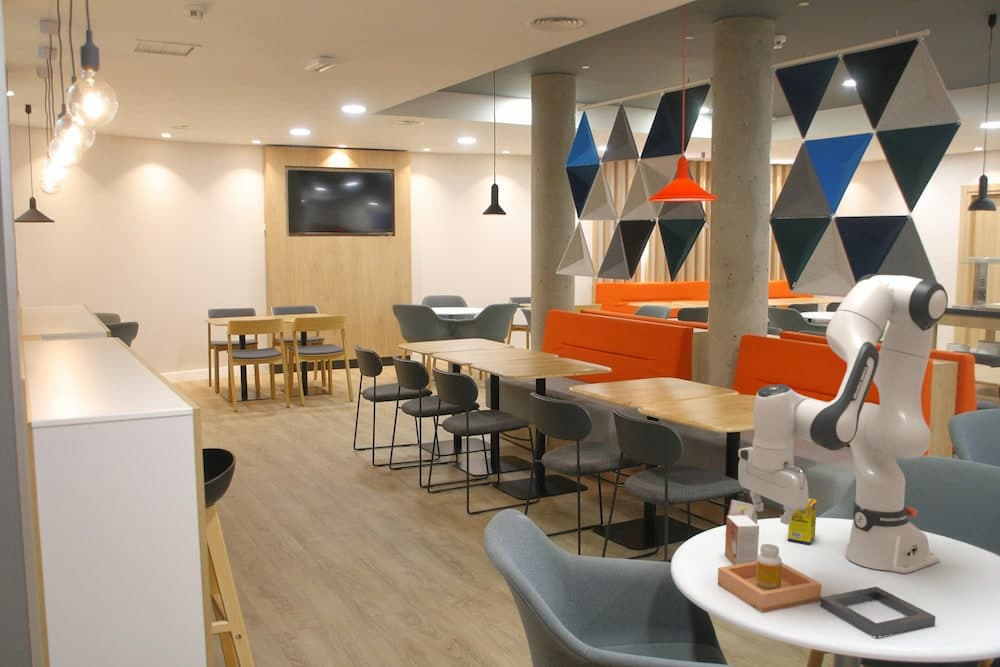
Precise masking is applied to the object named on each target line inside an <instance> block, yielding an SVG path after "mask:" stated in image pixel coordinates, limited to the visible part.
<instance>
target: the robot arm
mask: <svg viewBox="0 0 1000 667" xmlns="http://www.w3.org/2000/svg"><path fill="white" fill-rule="evenodd" d="M947 293H948V292H947V290H946V289H945V287H944V286H943V285H942V284H941V283H939V282H937V281H934V280H931V279H928V278H927V279H922V278H919V277H914V276H909V275H903V274H901V275H895V274H893V275H892V274H881V273H873V274H872V273H871V274H870V273H869V274H866V275H863V276H861V277H860V278H859V279H858V280H857V281H856V282H855V283H854V285H853V288H851V290H850V291H849V292H848V293H847V294H846V296H845V297H844V298H843V299H842V301H841V303H840V304H839V305H838V307H837V309H836V310H835V311H834V314H833V315H832V317H831V319H830V320H829V323H828V325H827V328H826V332H825V338H826V342H827V344H828V346H829V348H830V349H831V350H832V351H833V353H835V355H837V356H838V357H839V358H840V359H842V360H843V361H844V362H846V371H845V374H844V377H843V379H842V381H841V384H840V387H839V390H838V392H837V395H836V396H835V398H834V399H832V400H831V401H823V400H819V399H816V398H813V397H809V396H805V395H803V394H800V393H797V392H796V391H794V390H793V389H792V388H791V387H790V386H788V385H786V384H769V385H765V386H763V387H761V388H760V389H759V390H757V392H756V395H755V398H754V402H753V411H752V412H753V413H752V428H753V430H754V431H753V432H754V436H753V440H752V446H750V447H743V448H739V449H738V451H737V452H738V454H737V455H738V457H739V461H738V466H737V467H738V468H737V469H738V474H737V475H738V477H737V478H738V482H739V485H740V487H741V488H744V489H746V490H748V491H749V495H750V498H751V500H752V503H753V504H752V505H753V509H754V510H756V512H763V511H764V506H765V505H764V503H763V502H762V498H761V496H762V497H765V498H767V499H768V500H770V501H773V502H776V503H778V504H780V505H781V506H783V510H784V513H783V514H780V516H779V517H780V523H782V524H783V525H785V526H788V525H789V524H790V523H791V516H792V515H793V513H794V512H795V510H800V509H805V508H806V507H807V506H808V504H809V499H810V498H809V497H810V496H809V487H808V486H809V485H808V480H807V477H806V474H805V473H804V471H803V470H802V468H801V467H799V466H797V465H794V457H795V456H794V453H795V452H794V449H795V444H794V440H795V439H799V440H801V441H805V442H809V443H812V444H815V445H817V446H820V447H822V448H824V449H826V450H829V451H834V452H835V451H839V450H842V449H844V448H845V447H846V446H848V445H849V446H850V450H851V454H852V457H853V458H852V459H853V461H854V462H853V463H854V467H855V476H856V478H855V479H856V480H855V500H854V502H853V505H852V517H853V520H852V523H851V529H850V531H851V532H850V537H849V542H848V543H847V546H846V552H845V557H846V558H847V559H848V560H849V561H850V562H852V563H854V564H856V565H859V566H862V567H864V568H869V569H873V570H880V571H890V572H895V573H899V574H908V573H912V572H914V571H917V570H920V569H922V568H923V569H924V568H925V567H928V566H930V565H933V564H937V563H939V562H940V558H939V556H938V555H937V554H936V553H934V552H932V551H931V550H929V549H930V547H929V546H930V544H929V539H928V537H927V535H926V534H925V533H924V532H922V531H921V530H920V529H919V528H918V527H916V525H914V524H913V523H911V521H910V520H909V519H910V518H909V516H911V517H912V518H914V517H916V516H917V515H918V510H917V509H916V508H912V507H911V506H907V507H905V493H906V492H905V490H906V477H905V475H904V472H903V471H902V470H901V468H900V467H899V465H898V462H897V460H896V458H897V459H906V460H907V459H908V460H914V459H915V460H916V459H918V458H921V457H922V456H923V455H925V453H927V451H928V449H929V448H930V446H931V443H932V442H931V441H932V434H931V430H930V428H929V425H927V422H926V421H925V417H924V414H923V409H922V388H923V384H924V378H925V375H926V370H927V366H928V362H929V360H930V355H931V351H932V346H933V341H934V340H933V338H934V328H935V327H934V326H935V324H937V323H938V322H939V321H940V320H941V319H942V318H943V317H944V315H945V313H946V311H947V308H948V302H949V297H948V294H947ZM888 321H889V322H888ZM887 323H889V324H888V326H887ZM885 326H887V329H886V331H885V333H884V336H883V339H882V342H881V345H880V349H879V350H878V348H877V344H878V341H879V338H880V337H881V334H882V333H883V330H884V329H885ZM872 383H874V384H875V386H876V388H877V390H878V391H877V392H878V396H879V404H876V403H874V402H866V399H867V396H868V394H869V391H870V388H871V386H872Z"/></svg>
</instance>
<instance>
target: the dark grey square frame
mask: <svg viewBox="0 0 1000 667" xmlns="http://www.w3.org/2000/svg"><path fill="white" fill-rule="evenodd" d="M872 600H873V601H877V600H878V601H877V602H879V601H880V602H879V603H881V604H883V605H885V606H887V607H889V608H891V609H892V608H893V609H892V610H895V611H896V612H899V613H900V614H902V615H904V617H899V618H895V619H890V620H885V621H880V622H875V621H873V620H872V619H870V618H867V617H866V616H864V615H862V614H860V613H859V612H857V611H855V610H853V609H852V608H850V607H848V606H852V605H858V604H862V603H867V601H868V602H873V601H872ZM819 606H820V608H823V609H824V610H826V611H828V612H829V613H831V614H833V615H835V616H836V617H837V618H839V619H841V620H843V621H845V622H847V623H848V624H849V625H852V626H853V627H855V628H856V629H859V630H861V631H862V632H864V633H865V632H866V634H867V633H868V634H867V635H869V634H870V635H869V636H871V635H872V636H875V637H879V636H885V635H889V636H891V635H890V634H894V635H897V634H896V633H898V634H902V633H901V632H903V633H906V632H907V633H908V632H911V631H917V630H921V629H924V628H925V629H926V628H929V627H930V628H931V627H933V626H936V615H934V614H931V613H930V612H928V611H926V610H924V609H922V608H920V607H918V606H916V605H914V604H912V603H910V602H908V601H906V600H904V599H902V598H900V597H898V596H897V595H894V594H893V593H890V592H888V591H886V590H884V589H883V588H880V587H879V586H873V587H867V588H863V589H862V588H861V589H857V590H852V591H851V590H850V591H846V592H842V593H837V594H831V595H827V596H821V597H820V601H819ZM872 636H871V637H872ZM885 637H886V636H885Z"/></svg>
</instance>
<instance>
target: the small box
mask: <svg viewBox="0 0 1000 667" xmlns="http://www.w3.org/2000/svg"><path fill="white" fill-rule="evenodd" d="M725 522H726V523H725V524H726V526H725V541H724V542H725V545H724V555H725V556H726V557H727V558H728V559H729V560H730V561H731V562H732V564H733V565H737V564H743V563H749V562H755V561H757V557H758V555H759V537H760V525H758V523H757V524H756V523H755V522H754V521H752V520H751V519H750V518H749V517H748V516H747V515H739V516H728V515H726V520H725Z"/></svg>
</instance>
